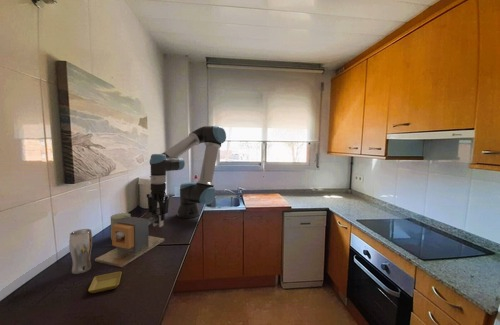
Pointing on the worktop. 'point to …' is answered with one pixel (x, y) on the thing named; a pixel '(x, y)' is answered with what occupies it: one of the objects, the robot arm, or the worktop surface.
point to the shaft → (152, 220)
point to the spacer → (128, 236)
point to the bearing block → (140, 244)
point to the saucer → (105, 282)
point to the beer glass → (81, 250)
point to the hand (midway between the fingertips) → (158, 225)
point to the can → (118, 219)
